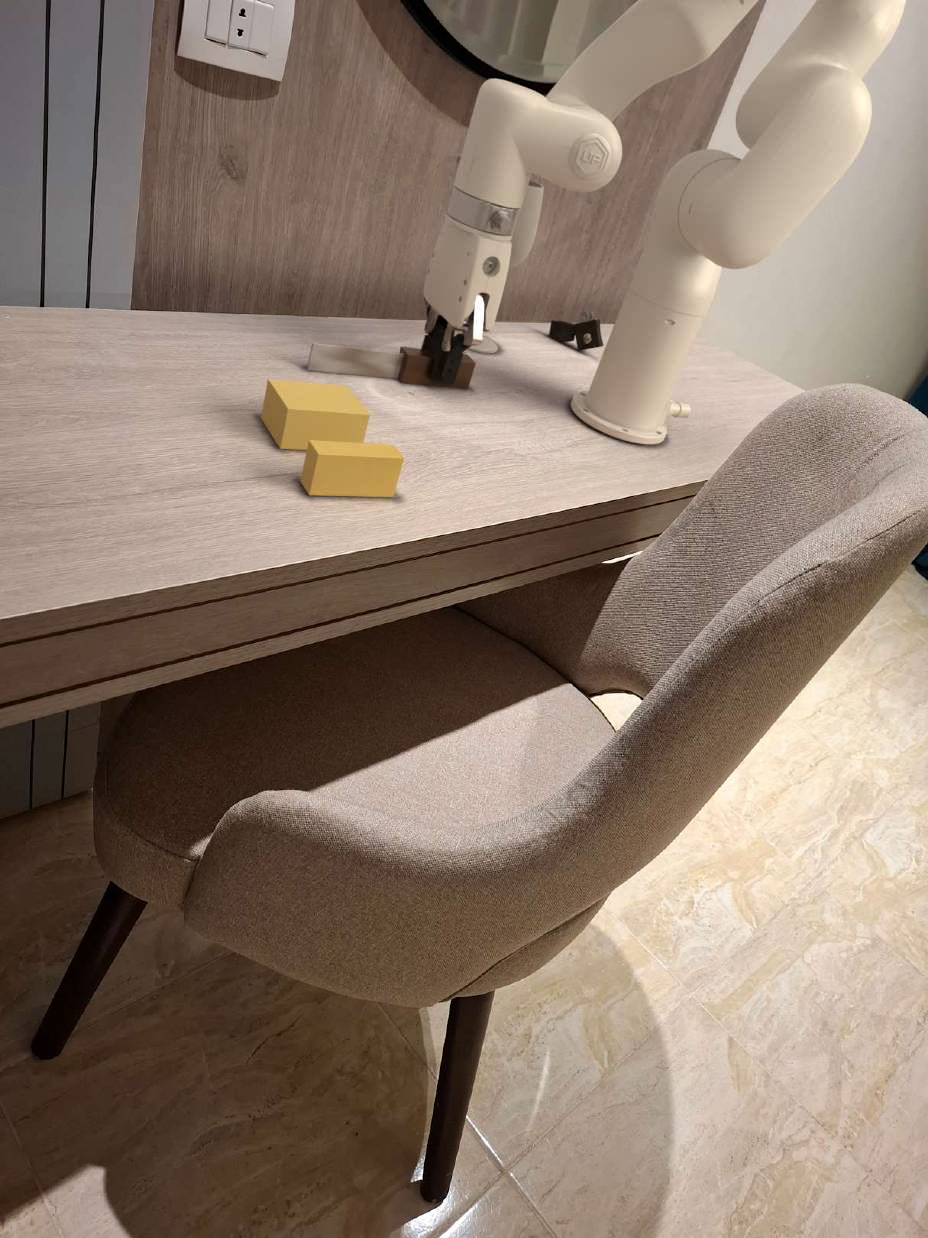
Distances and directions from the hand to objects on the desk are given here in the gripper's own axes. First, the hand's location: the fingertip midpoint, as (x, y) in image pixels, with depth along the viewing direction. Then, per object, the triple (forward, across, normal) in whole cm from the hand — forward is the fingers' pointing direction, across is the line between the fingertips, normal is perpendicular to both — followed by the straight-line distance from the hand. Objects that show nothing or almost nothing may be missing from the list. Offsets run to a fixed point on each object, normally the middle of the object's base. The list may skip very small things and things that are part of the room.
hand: (435, 374), depth 106 cm
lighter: (+1, +18, -32) cm, 37 cm away
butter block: (+1, -16, +21) cm, 26 cm away
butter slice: (+1, -26, +21) cm, 33 cm away
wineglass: (+1, +15, -13) cm, 20 cm away
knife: (+1, 0, +6) cm, 6 cm away
